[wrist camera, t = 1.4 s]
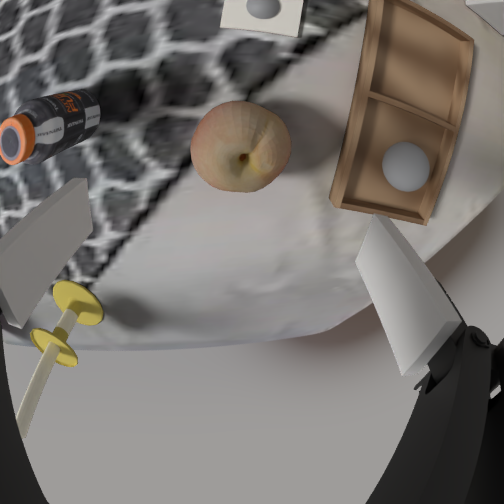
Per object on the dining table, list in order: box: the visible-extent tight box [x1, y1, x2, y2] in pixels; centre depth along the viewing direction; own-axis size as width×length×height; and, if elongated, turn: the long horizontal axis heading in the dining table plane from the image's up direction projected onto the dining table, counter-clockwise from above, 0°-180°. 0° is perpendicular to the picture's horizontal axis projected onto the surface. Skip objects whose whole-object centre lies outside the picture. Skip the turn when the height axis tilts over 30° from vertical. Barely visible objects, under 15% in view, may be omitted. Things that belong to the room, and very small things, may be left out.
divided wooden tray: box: [329, 0, 474, 226], centre depth 22 cm, size 24×12×2 cm, turn 172°
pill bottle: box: [0, 90, 100, 165], centre depth 18 cm, size 6×6×11 cm
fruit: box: [191, 101, 291, 193], centre depth 22 cm, size 8×8×8 cm
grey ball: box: [382, 142, 430, 192], centre depth 24 cm, size 5×5×5 cm
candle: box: [16, 280, 103, 439], centre depth 28 cm, size 10×10×27 cm
